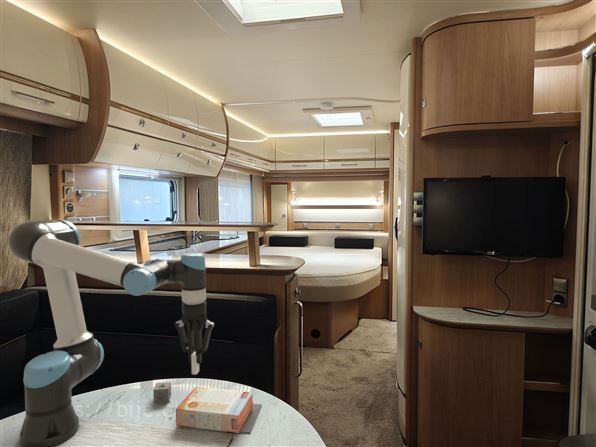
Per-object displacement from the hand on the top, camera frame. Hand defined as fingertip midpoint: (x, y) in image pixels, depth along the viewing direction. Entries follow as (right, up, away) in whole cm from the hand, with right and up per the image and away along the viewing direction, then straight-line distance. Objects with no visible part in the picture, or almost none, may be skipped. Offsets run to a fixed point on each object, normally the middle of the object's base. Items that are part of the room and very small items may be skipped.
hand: (195, 372), depth 126 cm
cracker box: (-4, -11, +1) cm, 12 cm away
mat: (+9, -14, 0) cm, 17 cm away
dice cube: (-15, -14, +11) cm, 23 cm away
